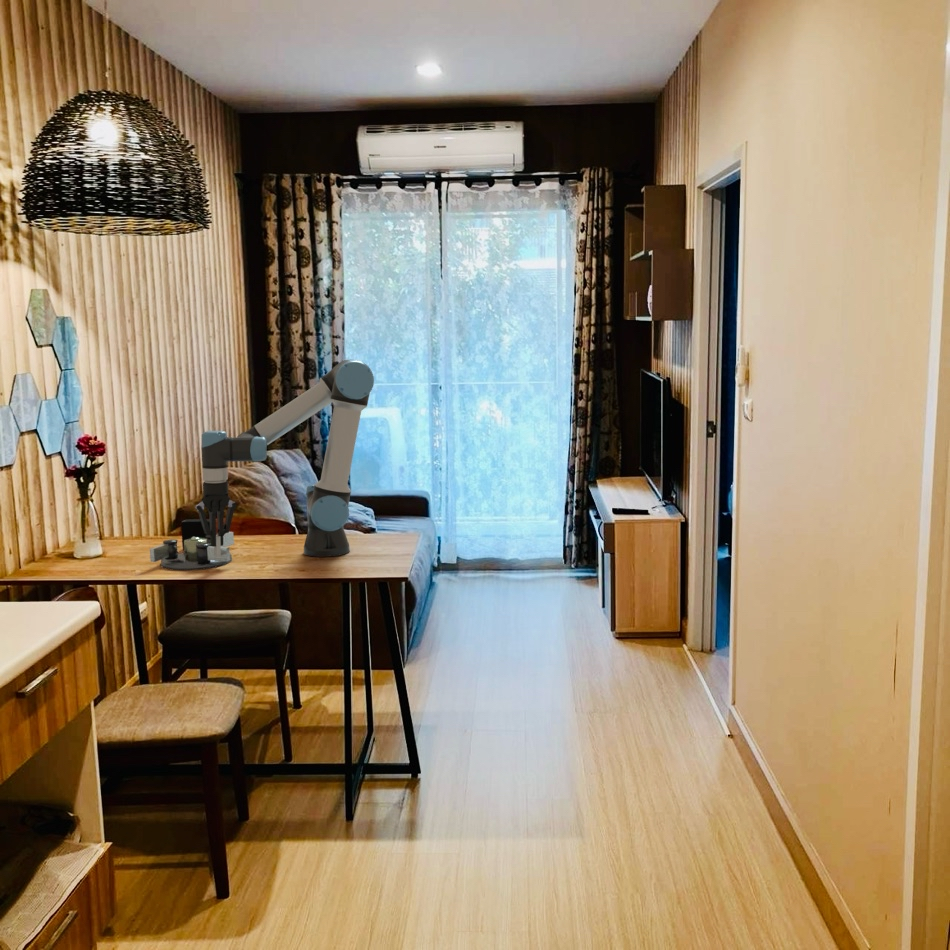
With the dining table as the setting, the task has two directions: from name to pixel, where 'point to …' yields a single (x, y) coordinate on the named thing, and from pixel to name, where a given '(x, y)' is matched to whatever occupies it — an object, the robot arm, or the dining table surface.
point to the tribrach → (190, 558)
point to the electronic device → (192, 529)
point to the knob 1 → (164, 551)
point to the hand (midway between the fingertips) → (217, 556)
